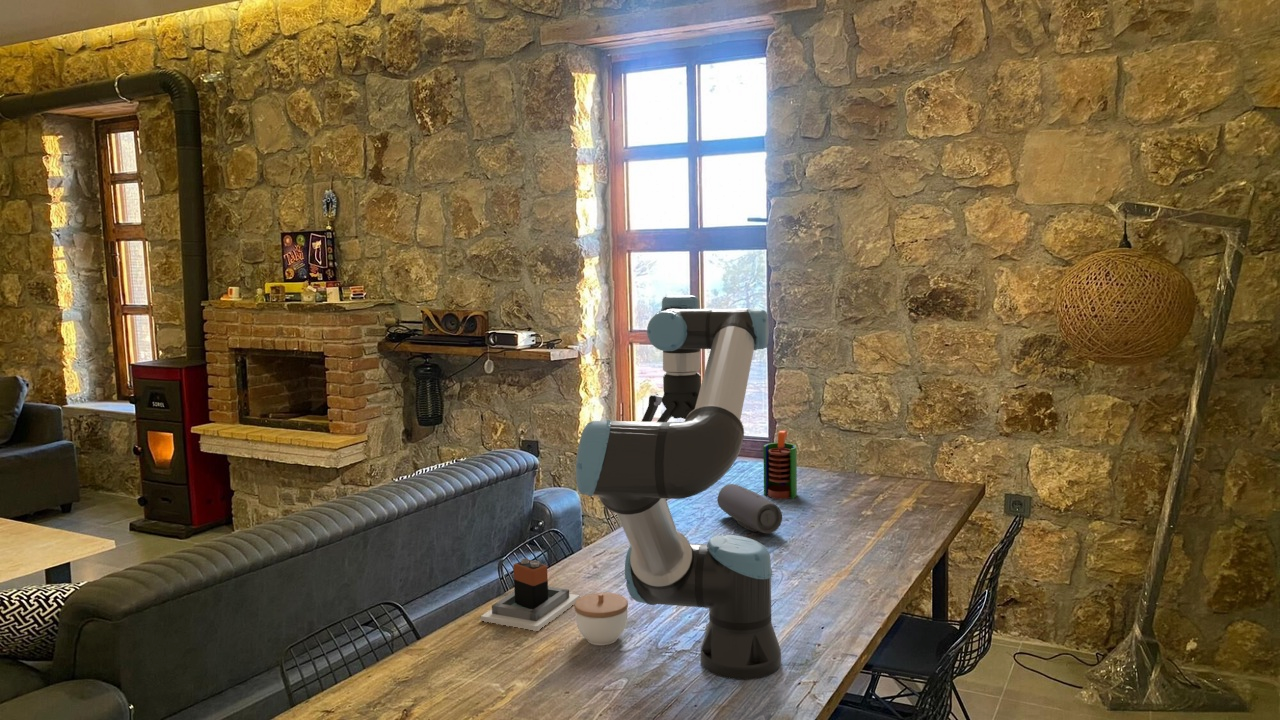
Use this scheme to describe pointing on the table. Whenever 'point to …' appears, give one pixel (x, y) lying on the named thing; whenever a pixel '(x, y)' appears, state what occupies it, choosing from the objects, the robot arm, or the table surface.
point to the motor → (780, 468)
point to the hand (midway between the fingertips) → (683, 475)
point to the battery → (530, 583)
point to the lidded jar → (601, 617)
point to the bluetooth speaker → (750, 509)
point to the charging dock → (530, 610)
